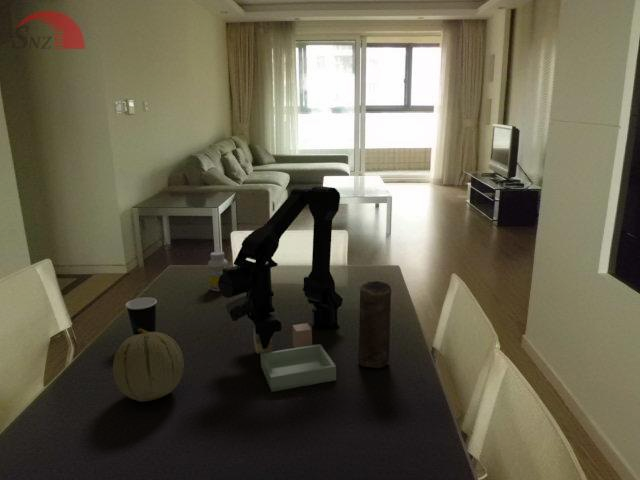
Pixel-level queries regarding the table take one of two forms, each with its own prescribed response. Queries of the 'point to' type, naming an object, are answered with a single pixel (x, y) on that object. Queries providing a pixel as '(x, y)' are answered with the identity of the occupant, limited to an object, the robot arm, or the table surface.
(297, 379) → the sage tub
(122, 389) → the cantaloupe
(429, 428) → the table surface
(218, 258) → the supplement bottle
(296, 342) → the coral block
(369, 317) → the candle
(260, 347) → the maple block
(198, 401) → the table surface
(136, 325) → the dixie cup
